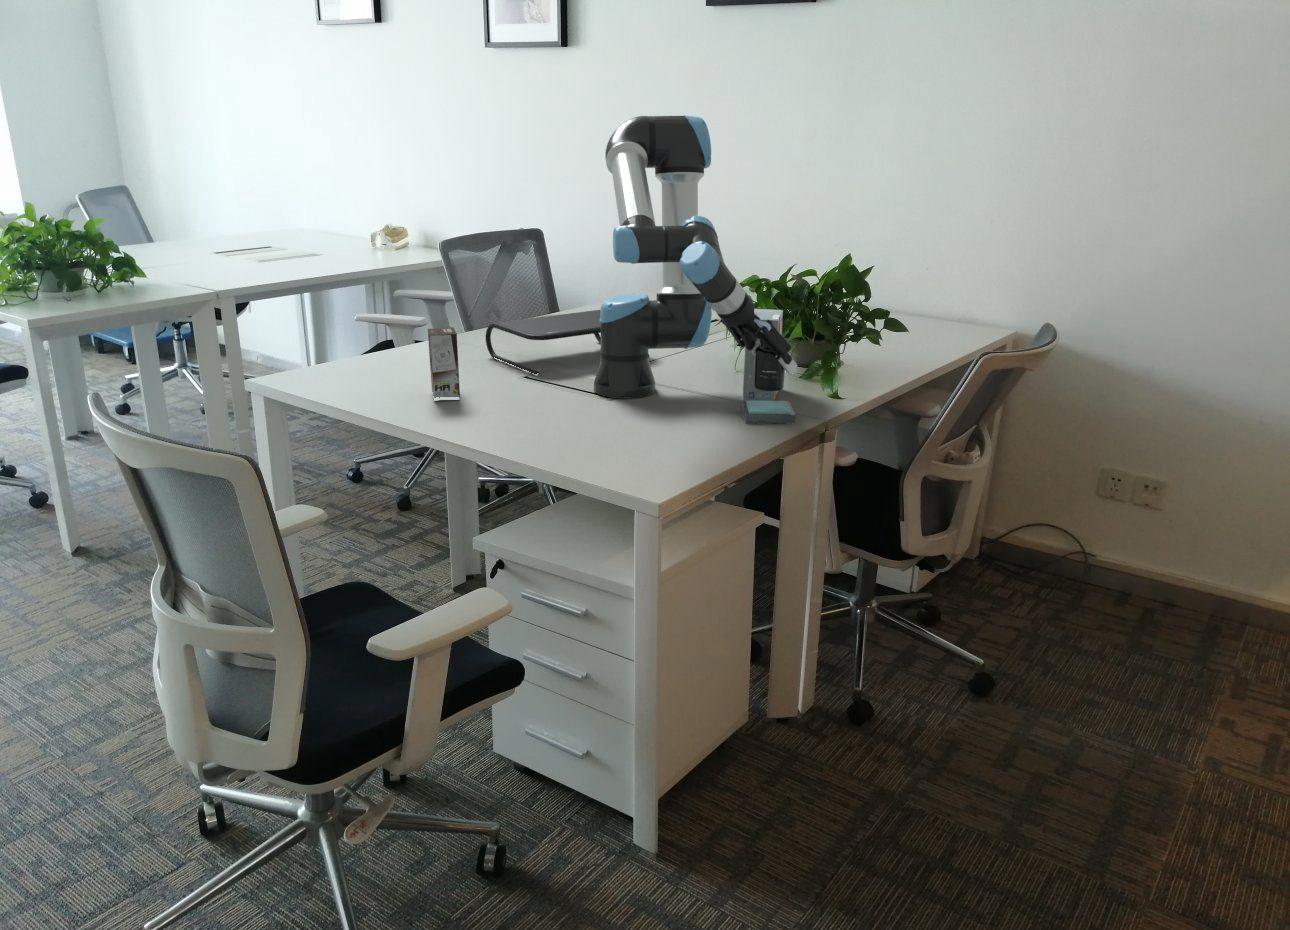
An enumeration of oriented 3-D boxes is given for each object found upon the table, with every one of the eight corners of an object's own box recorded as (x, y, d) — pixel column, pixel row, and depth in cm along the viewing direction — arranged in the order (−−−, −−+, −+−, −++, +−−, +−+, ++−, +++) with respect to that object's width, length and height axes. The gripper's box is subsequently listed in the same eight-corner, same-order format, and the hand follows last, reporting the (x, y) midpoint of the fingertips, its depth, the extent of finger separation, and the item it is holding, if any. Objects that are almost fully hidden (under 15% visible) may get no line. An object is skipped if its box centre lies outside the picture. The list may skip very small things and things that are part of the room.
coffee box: (461, 400, 245) (457, 333, 240) (433, 402, 243) (429, 335, 238) (458, 391, 253) (454, 326, 248) (431, 392, 252) (427, 327, 247)
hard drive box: (774, 404, 242) (778, 320, 236) (742, 402, 244) (744, 319, 237) (779, 388, 257) (783, 308, 250) (749, 386, 258) (751, 307, 252)
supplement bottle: (764, 393, 226) (766, 339, 222) (747, 386, 231) (749, 333, 228) (790, 389, 229) (792, 336, 225) (772, 383, 234) (775, 331, 231)
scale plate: (749, 416, 228) (749, 411, 227) (745, 405, 237) (745, 400, 236) (790, 416, 228) (791, 411, 227) (785, 405, 236) (786, 400, 236)
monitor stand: (535, 377, 268) (533, 336, 264) (485, 357, 289) (483, 319, 286) (650, 359, 288) (650, 320, 285) (595, 341, 310) (595, 306, 306)
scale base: (745, 423, 227) (745, 414, 227) (741, 409, 238) (741, 401, 237) (795, 423, 227) (795, 415, 227) (788, 410, 238) (789, 401, 237)
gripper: (689, 309, 222) (741, 372, 237) (754, 323, 208) (805, 388, 223) (708, 282, 224) (758, 346, 239) (774, 294, 209) (822, 361, 224)
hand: (780, 366), depth 231 cm, fingers closed on supplement bottle, 7 cm apart
